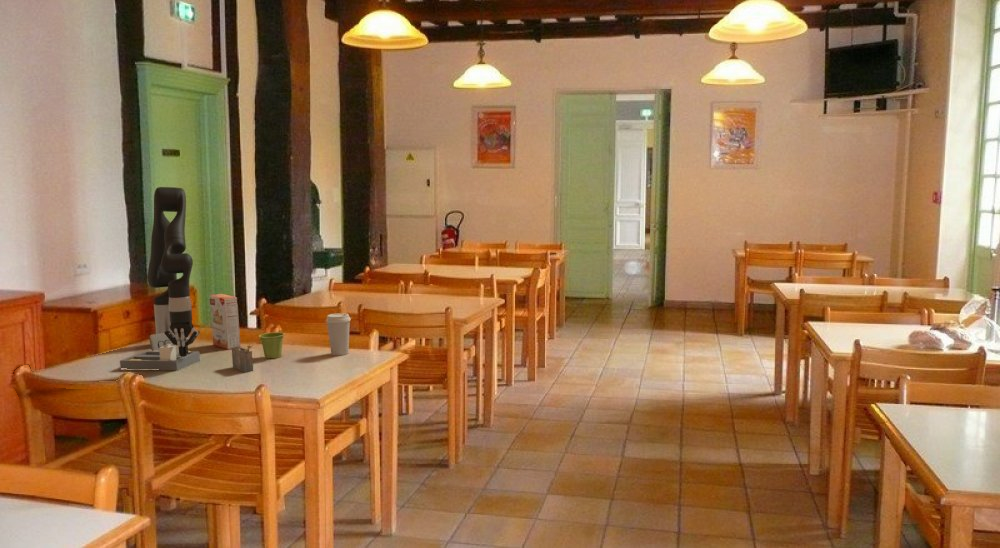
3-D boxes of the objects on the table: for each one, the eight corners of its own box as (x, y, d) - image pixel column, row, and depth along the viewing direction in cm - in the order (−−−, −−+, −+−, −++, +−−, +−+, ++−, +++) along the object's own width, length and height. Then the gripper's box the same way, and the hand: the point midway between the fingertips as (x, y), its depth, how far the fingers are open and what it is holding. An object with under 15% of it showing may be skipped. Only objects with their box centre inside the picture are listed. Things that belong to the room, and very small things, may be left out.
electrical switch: (154, 359, 315) (151, 335, 314) (149, 358, 318) (146, 334, 318) (178, 355, 321) (176, 331, 321) (173, 354, 325) (170, 331, 324)
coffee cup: (338, 357, 309) (336, 318, 308) (321, 354, 315) (319, 315, 313) (357, 352, 317) (355, 314, 315) (340, 349, 323) (339, 312, 321)
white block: (178, 356, 309) (176, 339, 308) (188, 357, 308) (186, 339, 307) (172, 359, 305) (171, 341, 304) (182, 359, 304) (181, 341, 304)
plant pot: (266, 361, 306) (265, 338, 305) (256, 357, 314) (254, 334, 312) (290, 357, 312) (288, 334, 311) (279, 353, 319) (278, 331, 318)
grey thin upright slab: (254, 372, 291) (252, 345, 290) (246, 373, 289) (244, 346, 288) (241, 367, 300) (239, 340, 299) (232, 368, 298) (231, 342, 297)
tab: (166, 361, 301) (165, 343, 300) (176, 361, 300) (175, 343, 300) (160, 364, 297) (159, 345, 296) (170, 364, 296) (169, 346, 296)
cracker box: (212, 345, 338) (208, 294, 335) (226, 343, 342) (222, 293, 339) (226, 350, 328) (223, 298, 325) (241, 347, 332) (237, 296, 329)
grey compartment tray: (145, 360, 313) (145, 350, 313) (199, 360, 310) (199, 350, 309) (120, 370, 298) (119, 360, 297) (177, 370, 294) (176, 360, 294)
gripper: (202, 307, 298) (206, 354, 300) (168, 307, 300) (172, 353, 302) (192, 310, 291) (195, 358, 293) (157, 310, 293) (161, 358, 295)
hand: (183, 356), depth 298 cm, fingers closed
